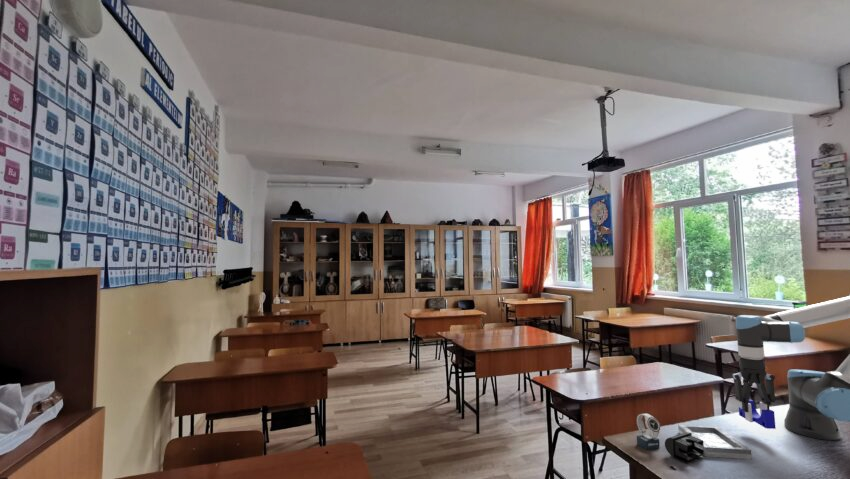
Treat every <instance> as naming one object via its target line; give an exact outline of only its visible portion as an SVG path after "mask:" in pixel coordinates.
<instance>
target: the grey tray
mask: <svg viewBox="0 0 850 479" xmlns="http://www.w3.org/2000/svg"><path fill="white" fill-rule="evenodd" d="M677 429H678V435H680V434H683V433H687V432H688V433H691V434H692V436H693V437H695V438H698V439H700V440H703V446H702V445H700V444H697V443H694V444H695V446H697V447H699V448H701V449H704V455H703V456H704V457H709V458H711V457H712V458H727V459H743V460H752V459H753V457H752V455H753V454H752V450H751V449H750V447H748V446H746V445H745V444H744V443H742V442H740V441H739V440H738V439H736V438H735V437H733V436H732V435H731V434H729V433H728V432H726V431H725V430H723V429H722V428H720V427H719V426H706V425H705V426H704V425H685V424H678V428H677Z"/></svg>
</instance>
